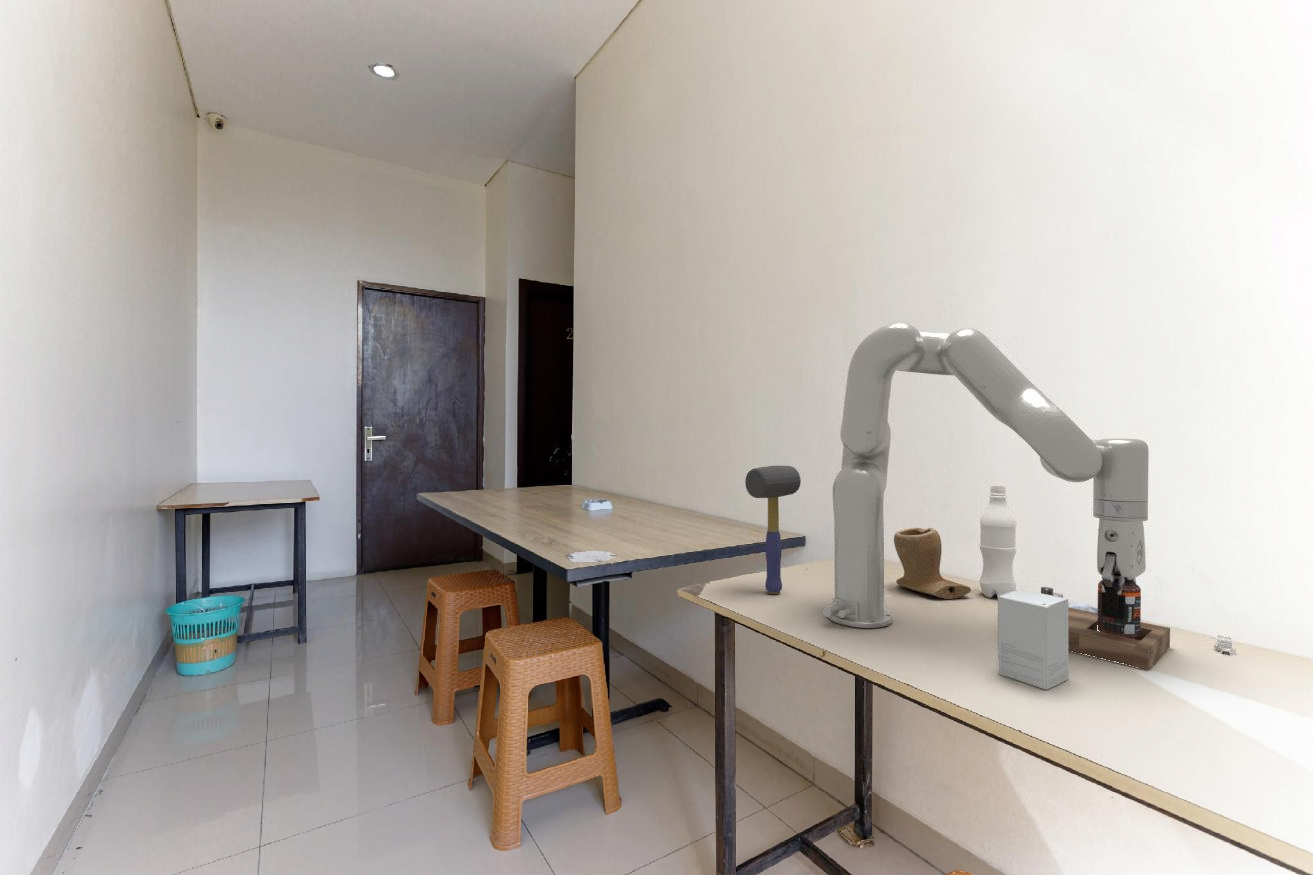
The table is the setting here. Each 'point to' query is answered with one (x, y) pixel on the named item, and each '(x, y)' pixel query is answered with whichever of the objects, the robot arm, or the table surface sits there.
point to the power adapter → (1224, 644)
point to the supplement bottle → (1132, 612)
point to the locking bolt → (1050, 592)
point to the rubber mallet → (773, 512)
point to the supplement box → (1033, 638)
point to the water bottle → (997, 545)
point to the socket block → (1116, 641)
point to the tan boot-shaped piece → (924, 564)
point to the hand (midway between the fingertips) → (1118, 611)
